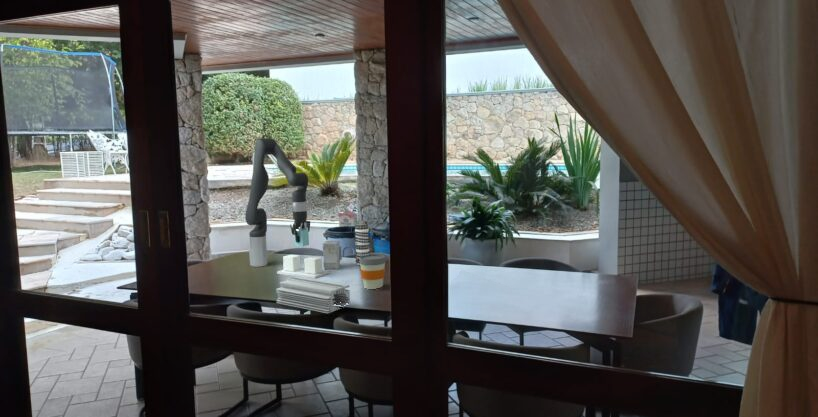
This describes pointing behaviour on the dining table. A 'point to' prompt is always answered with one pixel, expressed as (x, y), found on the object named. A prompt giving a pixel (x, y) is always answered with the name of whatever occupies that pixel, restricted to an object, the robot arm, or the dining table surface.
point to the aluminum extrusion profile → (313, 294)
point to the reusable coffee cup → (372, 270)
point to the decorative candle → (361, 239)
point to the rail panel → (294, 268)
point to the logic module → (302, 238)
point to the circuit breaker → (331, 255)
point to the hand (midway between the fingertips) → (301, 241)
